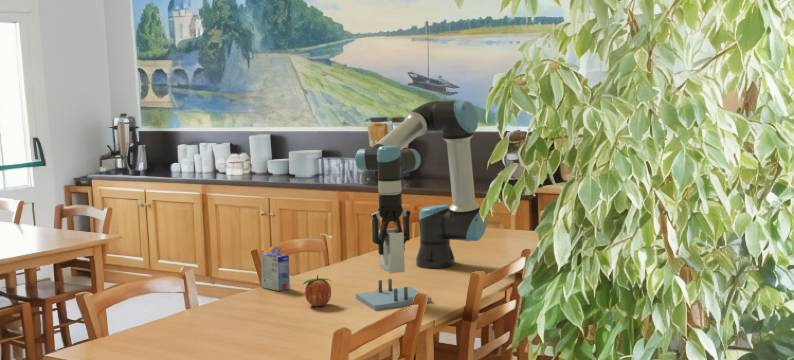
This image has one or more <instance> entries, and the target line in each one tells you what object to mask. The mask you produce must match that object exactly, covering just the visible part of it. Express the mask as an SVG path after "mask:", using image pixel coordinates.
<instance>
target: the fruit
mask: <svg viewBox="0 0 794 360" xmlns="http://www.w3.org/2000/svg"><path fill="white" fill-rule="evenodd" d="M328 281H330V282H332V280H331V279H329V278H323V277H319V275H318V274H317V275H316V278H311V279H307V280H306V281H304V282H303V283H302V285H306V286H305V288H304V289H305V290H304V296H305V299H306V301H307V303H308V304H310V305H311V306H313V307H323V306H325V305H327V304H328V303H329V302H330V300H331V297H332V287H331V285H330V284H329V282H328Z"/></svg>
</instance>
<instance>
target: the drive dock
mask: <svg viewBox="0 0 794 360" xmlns="http://www.w3.org/2000/svg"><path fill="white" fill-rule="evenodd" d="M392 282H393V281H392V278H388V279H387V283H388V289H383V281H382V280H381V279H378V281H377V284H378V286H377V287H378V290H374V291H369V292H368V291H367V292H359V293H355V299H356V300H358V301H360V302H361V303H363V304H364V305H366V306H367V307H369V308H370V309H372V310H374V311H379V310H384V309H385V310H387V309H391V308H392V309H394V308H399V307H407V306H412V305H411V304H412V302H413V299H414V296H415V294H416V293H419V292H420V291H419V290H417V289H416V288H415V287H414V288H413V287H412V286H403V287H397V288H393V283H392ZM427 296H428V303H432V297H431V296H429V295H427ZM428 303H427V304H428Z"/></svg>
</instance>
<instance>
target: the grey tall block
mask: <svg viewBox="0 0 794 360" xmlns="http://www.w3.org/2000/svg"><path fill="white" fill-rule="evenodd" d="M378 231H379V234H380V229H378ZM385 235H386V236H385V241H384V245H386V262H387V265H383V264H381V255H380V254H379V269H380V270H383V271H384V272H387V273H388V274H398V273H405V251H404V232H403V231H402V232H401V231H398V230H396V228H394V227H393V228H387V231H386V232H385Z"/></svg>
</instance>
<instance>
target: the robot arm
mask: <svg viewBox="0 0 794 360" xmlns="http://www.w3.org/2000/svg"><path fill="white" fill-rule="evenodd" d="M478 124H479V114H478V111H477V109H476V107H475V105H473V103H472V102H470V101H468V100H459V99H457V100H454V99H453V100H432V101H429V102H425V103H423V104H421V105H419V106H418V107H417V106H416V108H414V109H412V110H411V111H409V113H407V114H406V115H405V116H404V118H403V121H401V123H399V124H398V125H397V126H396V127H394V128H393V129H392V130H391V131H390V132H388V133H387V134H386V135H385V136H383V137H382V138H381V139H380V140H378V141H377V142H376V143H375V144H373V145H372V146H371V147H370V148H366V147H365V148H360V149H358V150H357V151H356V154H355V158H354V162H355V166H356V168H357V169H359V170H360V171H366V172H377V176H378V177H377V181H378V182H377V188H378V189H377V190H378V193H379V194H378V209H377V211H376V212H374V213H372V212H371V213H370V218H371V225H372V226H371V228H372V229H371V230H372V231H371V232H372V233H371V234H372V235H371V236H372V240H371V241H372V243H373V244H376V245H377V247H378V248H377V249H378V250H377V251H378V255H379V256H380V255H381V264H383V265H387V262H386V245H384V241H385V236H386V235H385V232H386V231H387V229H388V226H389V223H390V222H393V225H394V229H396V230H398V231H401V232H404V252H406V251H405V250H406V247H405V244H406V243H407V242H409V241H410V240H411V231H410V228H411V226H410V216H411V212H412V211H410V210H407V209H403V206H402V205H403V201H402V198H403V197H402V173H403V174H404V173H408V172H410V173H411V172H413V171H415V170H417V169H418V168H419V167H420V165H421V161H422V159H421V155H420V153H419V152H418V150H416V149H414V148H406V146H408V145H409V144H410V143H411V142H412V141H414V139H417V137H421V136H423V135H425V134H428V133H441V138H442V140H443V141H445V142H446V148H447V158H448V169H449V170H448V171H449V180H450V188H451V200H452V203H451V204H450V206H449V205H448V204H437V205H431V206H425V207H423V208H421V209H420V210H419V219H418V221H419V248H418V252H417V255H416V259H415V262H416V263H415V264H416V266H417V267H420V268H424V269H444V268H449V267H453V266H455V264H456V263H455V262H456V261H455V256H454V252H453V250H452V247H451V243H450V242H451V241H450V240H455V241H464V242H465V241H466V242H479V241H480V240H481V239H482V238H483V236H484V234H485V232H486V229H487V226H488V225H487V223H488V217H487V215H486V218H485V221H484V222H483V221H482V219H481V217H480V214H479V210H480V211H481V207H480V203H478V202H477V201H476V195H475V185H474V184H475V183H474V175H473V174H474V173H473V161H472V152H471V151H472V150H471V139H472V138H473V137H474V133H475V132H476V131H477V129H478V128H479V127H478ZM401 216H402V225H403V226H402V225H401V218H400V217H401ZM379 218H381V224H380V228H379ZM379 230H380V234H379Z"/></svg>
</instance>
